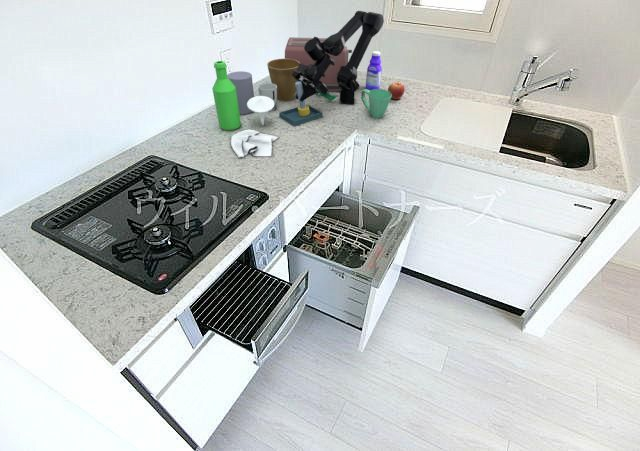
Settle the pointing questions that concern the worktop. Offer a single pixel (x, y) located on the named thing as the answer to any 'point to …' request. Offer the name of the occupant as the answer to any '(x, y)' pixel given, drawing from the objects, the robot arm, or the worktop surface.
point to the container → (242, 89)
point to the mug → (376, 101)
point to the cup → (269, 92)
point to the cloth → (252, 143)
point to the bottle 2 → (374, 72)
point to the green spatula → (327, 95)
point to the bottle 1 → (225, 99)
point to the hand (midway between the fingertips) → (298, 99)
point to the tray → (295, 118)
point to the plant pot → (283, 77)
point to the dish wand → (303, 108)
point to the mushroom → (260, 106)
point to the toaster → (298, 53)
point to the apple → (396, 90)
